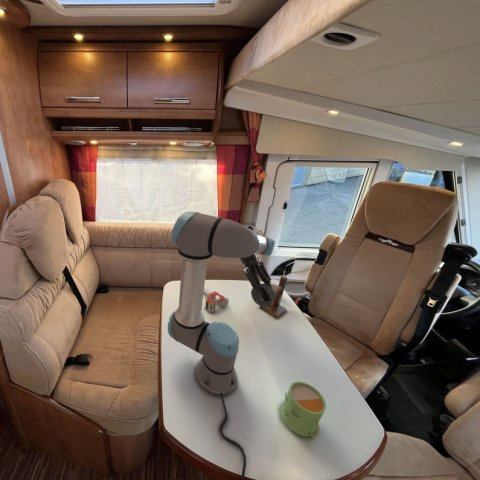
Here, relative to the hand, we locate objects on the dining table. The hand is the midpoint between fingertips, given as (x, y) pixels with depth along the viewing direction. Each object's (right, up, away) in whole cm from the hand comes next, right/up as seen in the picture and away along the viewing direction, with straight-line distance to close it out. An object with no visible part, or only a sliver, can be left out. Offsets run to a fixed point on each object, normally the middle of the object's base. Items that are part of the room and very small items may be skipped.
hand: (270, 298), depth 109 cm
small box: (+14, -6, +30) cm, 34 cm away
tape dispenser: (-22, -6, +24) cm, 32 cm away
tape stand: (+7, -12, +17) cm, 22 cm away
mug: (-5, -34, -31) cm, 46 cm away
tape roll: (-2, -3, +5) cm, 6 cm away
